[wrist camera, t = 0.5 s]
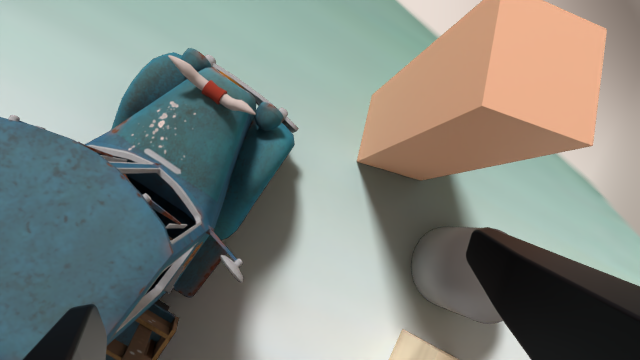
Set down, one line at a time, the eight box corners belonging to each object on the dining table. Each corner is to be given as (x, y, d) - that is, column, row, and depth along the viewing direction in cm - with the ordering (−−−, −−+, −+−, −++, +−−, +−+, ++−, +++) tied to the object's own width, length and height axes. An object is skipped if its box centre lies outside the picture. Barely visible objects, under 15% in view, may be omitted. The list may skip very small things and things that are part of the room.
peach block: (420, 180, 27) (592, 145, 14) (356, 161, 26) (482, 105, 13) (433, 115, 28) (606, 29, 15) (372, 94, 27) (503, -18, 14)
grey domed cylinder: (493, 263, 28) (543, 271, 23) (449, 323, 26) (493, 343, 22) (443, 210, 27) (485, 208, 23) (395, 268, 26) (430, 278, 21)
